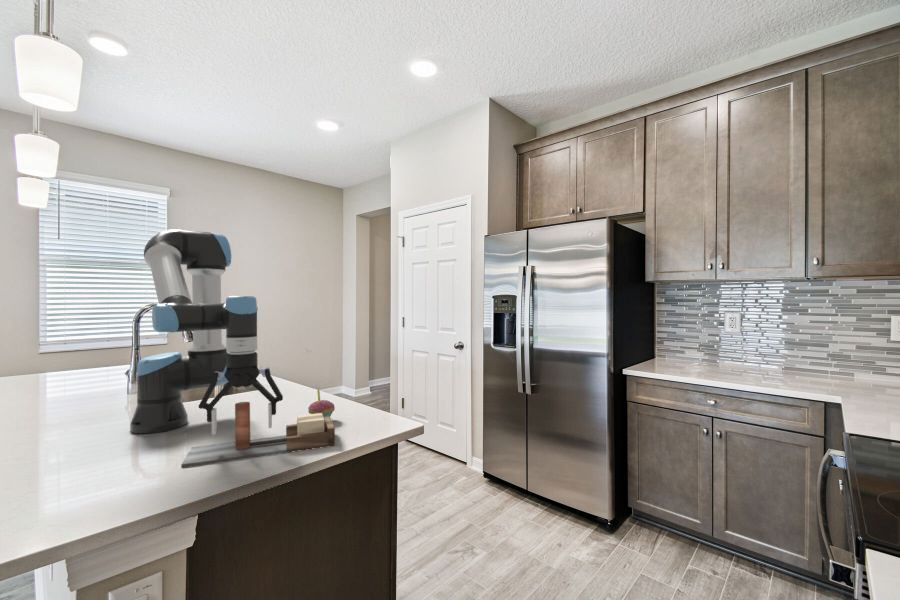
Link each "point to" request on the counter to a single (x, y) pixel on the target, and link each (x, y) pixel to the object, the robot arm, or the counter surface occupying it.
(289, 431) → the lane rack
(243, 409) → the rod with end block
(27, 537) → the counter surface
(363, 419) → the counter surface
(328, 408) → the cupcake
